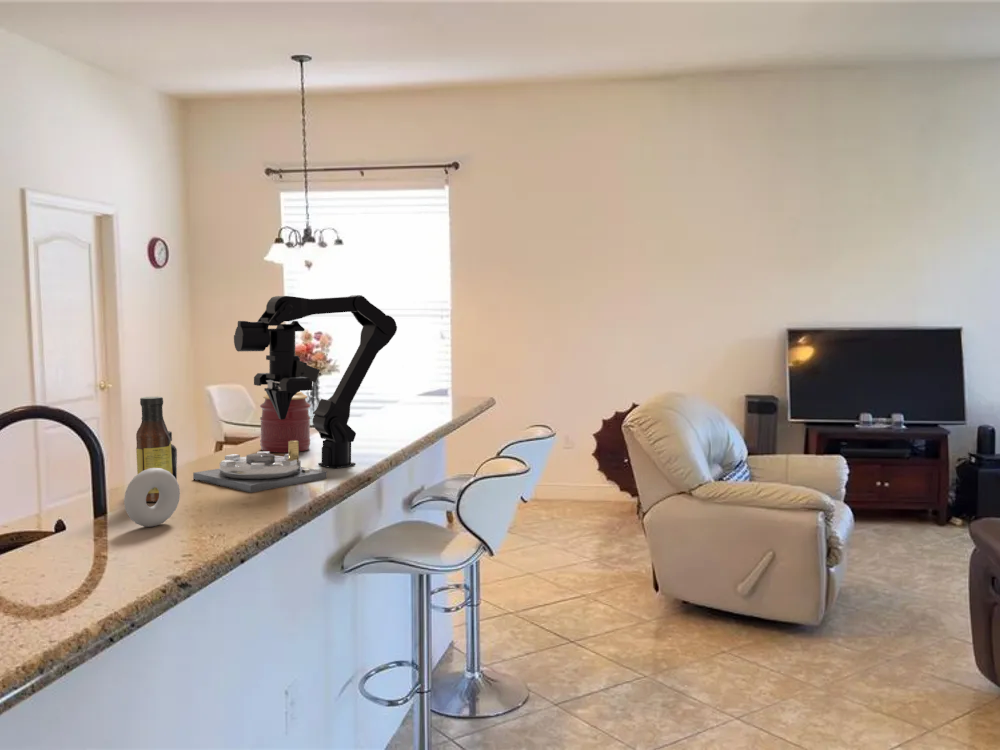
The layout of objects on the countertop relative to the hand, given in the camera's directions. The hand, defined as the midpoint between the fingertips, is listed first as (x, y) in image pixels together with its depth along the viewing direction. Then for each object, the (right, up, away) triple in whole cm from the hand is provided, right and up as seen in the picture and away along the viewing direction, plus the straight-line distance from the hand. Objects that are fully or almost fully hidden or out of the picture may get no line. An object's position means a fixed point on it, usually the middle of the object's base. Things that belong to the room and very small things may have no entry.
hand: (282, 419), depth 193 cm
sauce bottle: (-17, -14, -31) cm, 37 cm away
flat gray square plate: (-2, -13, -9) cm, 15 cm away
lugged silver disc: (-2, -11, -9) cm, 14 cm away
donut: (-9, -16, -50) cm, 53 cm away
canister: (-7, -10, +31) cm, 34 cm away
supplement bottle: (-19, -14, -22) cm, 32 cm away
